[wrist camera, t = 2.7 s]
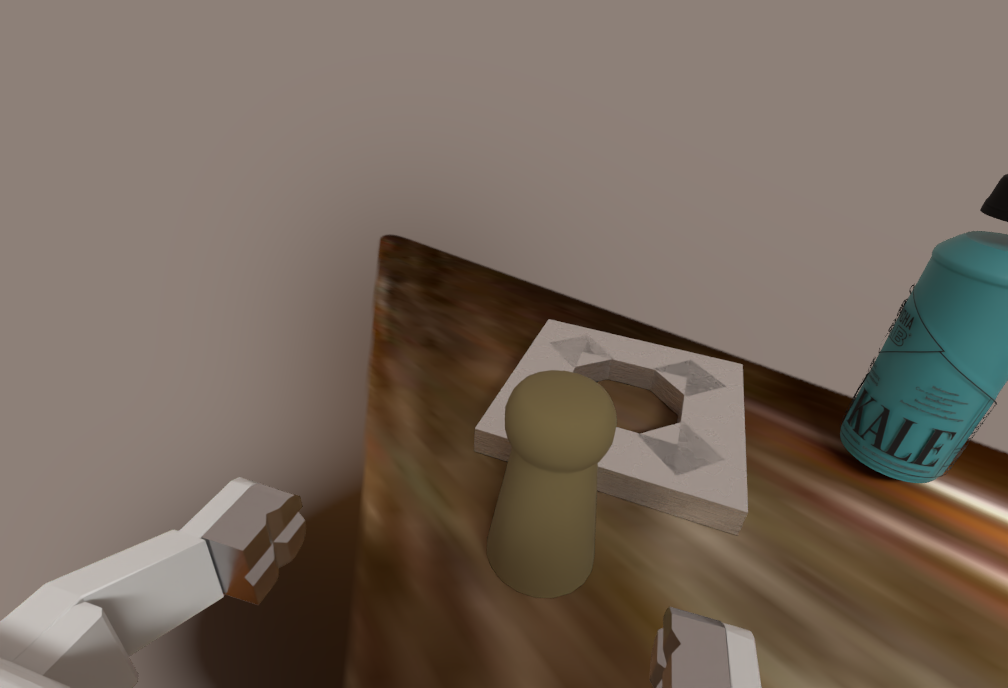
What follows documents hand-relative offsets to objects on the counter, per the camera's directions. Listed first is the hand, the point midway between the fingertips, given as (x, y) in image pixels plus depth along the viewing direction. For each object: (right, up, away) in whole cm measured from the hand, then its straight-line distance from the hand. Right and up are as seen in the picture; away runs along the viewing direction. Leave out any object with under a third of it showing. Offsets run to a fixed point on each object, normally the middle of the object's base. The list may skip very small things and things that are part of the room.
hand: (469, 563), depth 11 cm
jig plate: (+10, -1, +29) cm, 30 cm away
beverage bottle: (+27, -4, +25) cm, 37 cm away
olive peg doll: (+3, -7, +18) cm, 19 cm away
